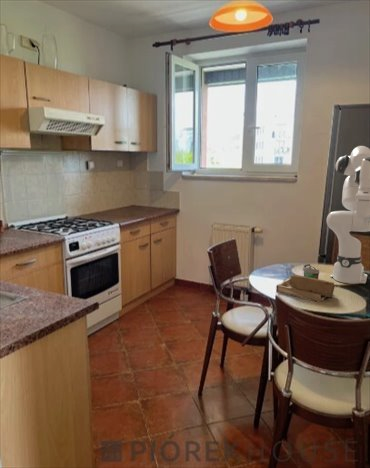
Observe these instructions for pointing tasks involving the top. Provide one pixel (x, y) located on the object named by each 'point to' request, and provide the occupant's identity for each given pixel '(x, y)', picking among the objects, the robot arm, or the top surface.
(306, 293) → the wooden tray
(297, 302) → the top surface
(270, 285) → the top surface
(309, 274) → the food container
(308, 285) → the block
